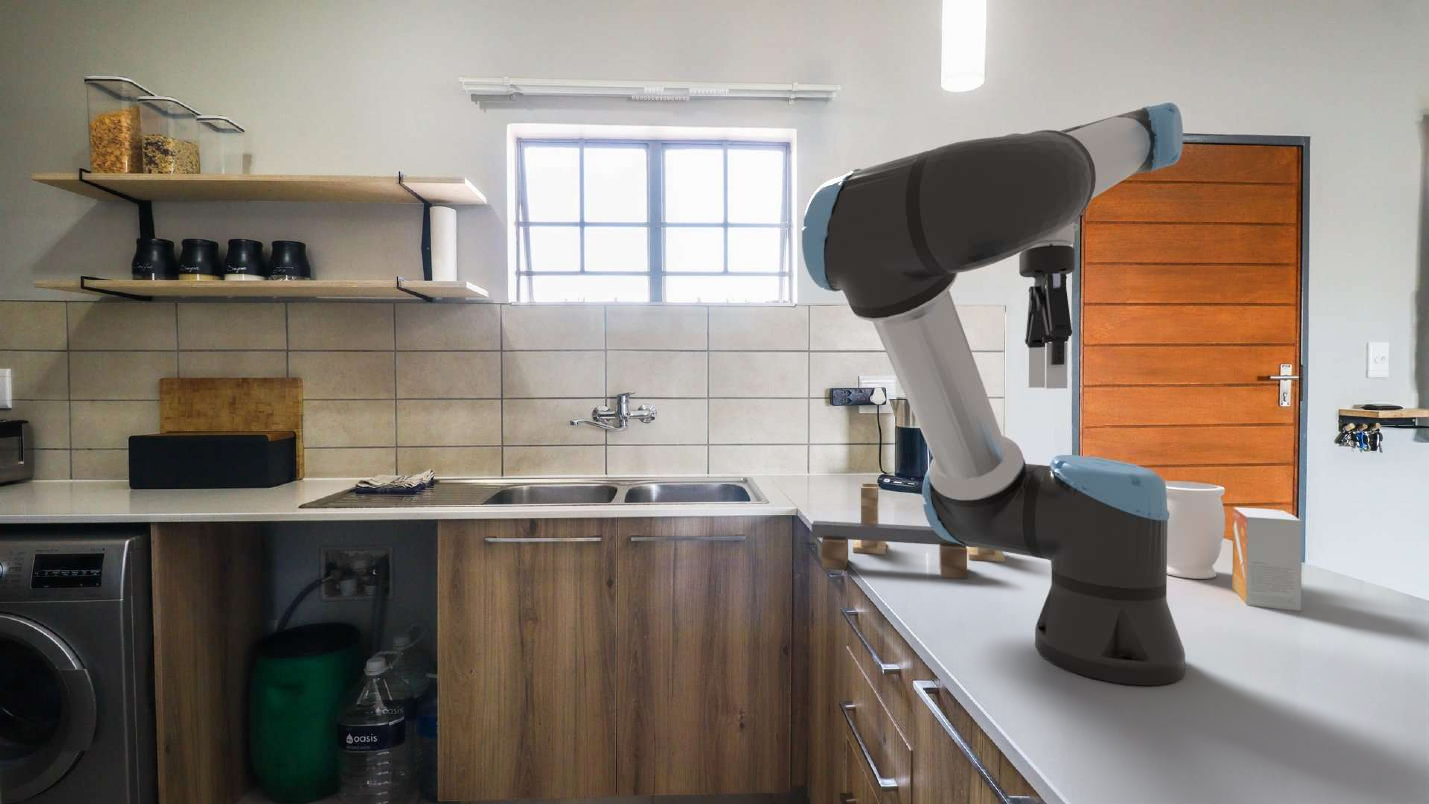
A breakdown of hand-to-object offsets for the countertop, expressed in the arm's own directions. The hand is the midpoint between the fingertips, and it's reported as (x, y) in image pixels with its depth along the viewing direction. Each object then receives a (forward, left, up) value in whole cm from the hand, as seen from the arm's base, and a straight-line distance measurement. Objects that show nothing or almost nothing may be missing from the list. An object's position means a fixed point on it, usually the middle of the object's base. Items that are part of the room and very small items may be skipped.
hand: (1046, 388), depth 98 cm
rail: (-10, +22, -27) cm, 36 cm away
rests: (-10, +22, -32) cm, 40 cm away
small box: (+25, -18, -32) cm, 44 cm away
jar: (+30, -5, -32) cm, 44 cm away
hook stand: (+3, +27, -32) cm, 42 cm away
